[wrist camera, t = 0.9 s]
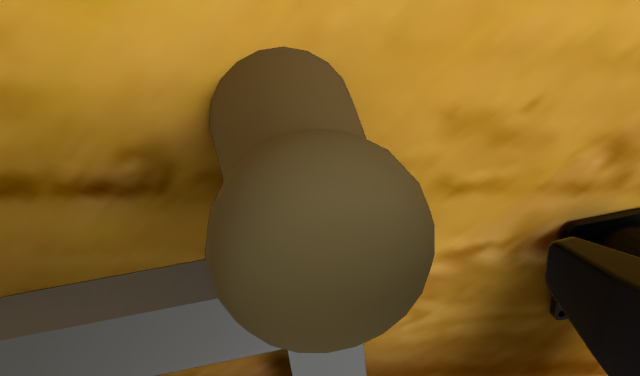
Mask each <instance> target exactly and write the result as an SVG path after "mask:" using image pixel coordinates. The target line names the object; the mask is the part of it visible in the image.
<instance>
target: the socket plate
mask: <svg viewBox="0 0 640 376" xmlns="http://www.w3.org/2000/svg"><path fill="white" fill-rule="evenodd" d="M276 350H281V348H278V347H274V346H271V345H269V344H267V343H265V342H264V341H262V340H261V339H259V338H257V337H256V336H254V335H253V334H251V333H250V332H248V331H246V330H245V329H244V328H243V327H242V326H240V325H239V324H238V323H237V322H236V321H235V320H234V319H233V317H232V316H231V315H230V314H229V312H228V311H227V310H226V308H225V307H224V306H223V305H222V303H221V302H220V301H219V299H218V297H217V294H216V291H215V288H214V285H213V282H212V279H211V275H210V272H209V268H208V265H207V262H206V259H205V260H200V261H194V262H189V263H184V264H178V265H173V266H167V267H162V268H157V269H151V270H146V271H141V272H135V273H130V274H124V275H119V276H114V277H108V278H103V279H97V280H92V281H87V282H81V283H76V284H71V285H65V286H60V287H54V288H49V289H44V290H38V291H33V292H27V293H22V294H17V295H11V296H6V297H1V298H0V376H157V375H162V374H166V373H171V372H176V371H181V370H185V369H190V368H195V367H200V366H204V365H209V364H214V363H219V362H223V361H228V360H233V359H238V358H243V357H247V356H252V355H257V354H262V353H266V352H271V351H276ZM288 355H289V360H290V365H291V370H292V375H293V376H366V366H365V355H364V343H363V344H361V345H358V346H356V347H352V348H348V349H343V350H339V351H335V352H330V353H296V352H292V351H289V350H288Z"/></svg>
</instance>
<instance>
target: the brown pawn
mask: <svg viewBox="0 0 640 376" xmlns="http://www.w3.org/2000/svg"><path fill="white" fill-rule="evenodd" d="M209 125H210V129H211V133H212V137H213V142H214V146H215V149H216V153H217V157H218V161H219V165H220V169H221V173H222V177H223V181H224V183H223V185H222V187H221V189H220V191H219V193H218V195H217V197H216V199H215V201H214V203H213V205H212V207H211V209H210V213H209V220H208V228H207V238H206V248H205V258H206V262H207V265H208V268H209V272H210V275H211V279H212V282H213V285H214V288H215V291H216V294H217V297H218V299H219V301H220V302H221V303H222V305H223V306H224V307H225V308H226V310H227V311H228V312H229V314H230V315H231V316H232V317H233V319H234V320H235V321H236V322H237V323H238V324H239V325H240V326H242V327H243V328H244V329H245V330H246V331H248V332H250V333H251V334H253V335H254V336H256V337H257V338H259V339H261V340H262V341H264V342H265V343H267V344H269V345H271V346H274V347H278V348H281V349H285V350H289V351H292V352H296V353H330V352H335V351H339V350H343V349H348V348H352V347H356V346H358V345H361V344H363V343H365V342H367V341H369V340H371V339H373V338H375V337H377V336H379V335H381V334H383V333H384V332H386V331H387V330H388V329H389V328H391V327H392V326H393V325H394V324H396V323H397V322H398V321H399V320H400V319H402V318H403V317H404V316H405V315H406V314H407V313H408V311H409V310H410V309H411V307H412V306H413V304H414V303H415V302H416V300H417V299H418V298H419V296H420V295H421V294H422V291H423V289H424V286H425V283H426V280H427V277H428V274H429V271H430V269H431V265H432V261H433V258H434V222H433V219H432V215H431V212H430V209H429V207H428V204H427V202H426V199H425V197H424V194H423V192H422V189H421V187H420V184H419V183H418V181H417V180H416V179H415V178H414V177H413V176H412V175H411V174H410V173H409V172H408V171H407V170H406V168H405V167H404V166H403V165H402V164H401V163H400V162H399V161H398V160H397V159H396V158H395V157H394V156H393V155H392V154H391V153H390V152H389V150H387V149H385V148H383V147H381V146H379V145H377V144H375V143H373V142H371V141H369V140H367V139H366V137H365V134H364V131H363V128H362V126H361V123H360V120H359V117H358V115H357V112H356V109H355V107H354V104H353V101H352V99H351V96H350V94H349V92H348V89H347V87H346V85H345V83H344V80H343V79H342V77H341V76H340V75H339V74H338V73H337V72H336V71H335V70H334V69H333V68H332V67H331V65H330V64H329V63H328V62H326V61H324V60H323V59H321V58H319V57H317V56H315V55H313V54H312V53H310V52H308V51H304V50H299V49H293V48H287V47H279V48H272V49H266V50H259V51H257V52H255V53H253V54H251V55H249V56H248V57H246V58H244V59H242V60H240V61H238V62H237V63H236V64H235V65H234V66H233V67H232V68H231V69H230V70H229V71H228V72H227V73H226V74H225V75H224V76H223V77H222V78H221V80H220V82H219V84H218V86H217V89H216V91H215V93H214V95H213V97H212V100H211V107H210V118H209Z"/></svg>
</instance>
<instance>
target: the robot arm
mask: <svg viewBox="0 0 640 376" xmlns="http://www.w3.org/2000/svg"><path fill="white" fill-rule="evenodd" d="M545 279H546V284H547V287H548V289H549V290H550V292H551V294H552V295H553V296H552V302H551V308H550V313H551V314H552V316H553V317H554V318H555V319H556V320H563V319H569V320H570V322H571V323H572V325H573V326H574V328H575V329H576V331H577V332H578V334H579V335H580V337H581V338H582V340H583V341H584V343H585V344H586V346H587V347H588V349H589V350H590V352H591V353H592V355H593V356H594V357H595V359H596V360H597V362H598V363H599V364H600V365H601V367H602V368H603V369H604V371H605V372H606V373H607V374H608V376H640V209H637V210H632V211H626V212H621V213H616V214H611V215H606V216H601V217H595V218H590V219H585V220H580V221H575V222H571V223H569V224H568V225H567V226H566V227H565V228H564V231H563V237H562V239H560V240H557V241H554V242H552V243H551V244H550V245H549V248H548V255H547V264H546V273H545Z"/></svg>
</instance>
